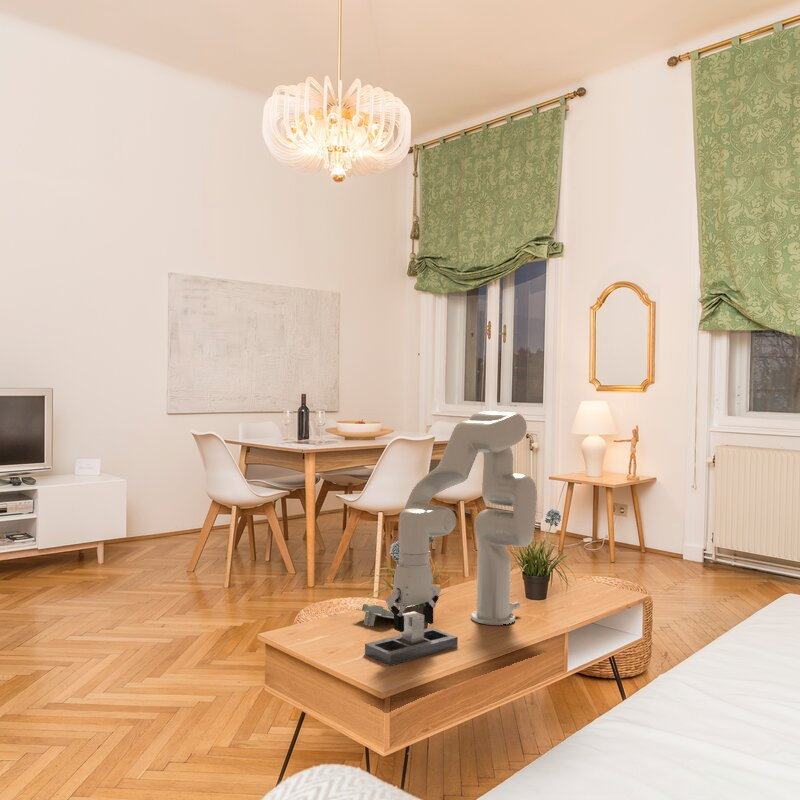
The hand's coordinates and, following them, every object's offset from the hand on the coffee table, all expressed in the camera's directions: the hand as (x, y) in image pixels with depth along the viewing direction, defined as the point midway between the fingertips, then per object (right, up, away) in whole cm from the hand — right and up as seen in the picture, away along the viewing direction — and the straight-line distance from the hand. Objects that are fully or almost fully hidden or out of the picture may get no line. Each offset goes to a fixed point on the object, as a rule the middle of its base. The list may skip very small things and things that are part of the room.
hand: (413, 626), depth 181 cm
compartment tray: (0, -6, -1) cm, 6 cm away
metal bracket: (-8, -7, +24) cm, 26 cm away
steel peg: (0, -6, 0) cm, 6 cm away
